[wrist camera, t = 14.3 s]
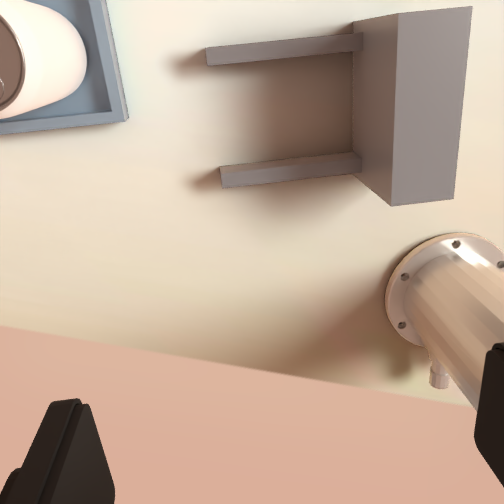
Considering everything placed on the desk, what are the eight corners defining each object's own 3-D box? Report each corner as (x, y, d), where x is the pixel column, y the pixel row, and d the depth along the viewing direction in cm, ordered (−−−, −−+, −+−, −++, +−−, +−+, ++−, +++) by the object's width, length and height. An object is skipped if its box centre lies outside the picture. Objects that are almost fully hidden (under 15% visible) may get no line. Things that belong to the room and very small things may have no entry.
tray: (129, 117, 36) (125, 121, 34) (-7, 132, 36) (-19, 136, 34) (98, -38, 32) (91, -44, 30) (-57, -25, 31) (-74, -29, 29)
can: (25, 113, 35) (-57, 142, 24) (-23, 23, 32) (-139, 10, 21) (103, 84, 34) (57, 100, 24) (62, -9, 32) (-12, -40, 21)
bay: (402, 168, 40) (453, 199, 32) (222, 189, 39) (227, 226, 31) (409, 16, 35) (472, 5, 27) (203, 36, 34) (203, 32, 26)
